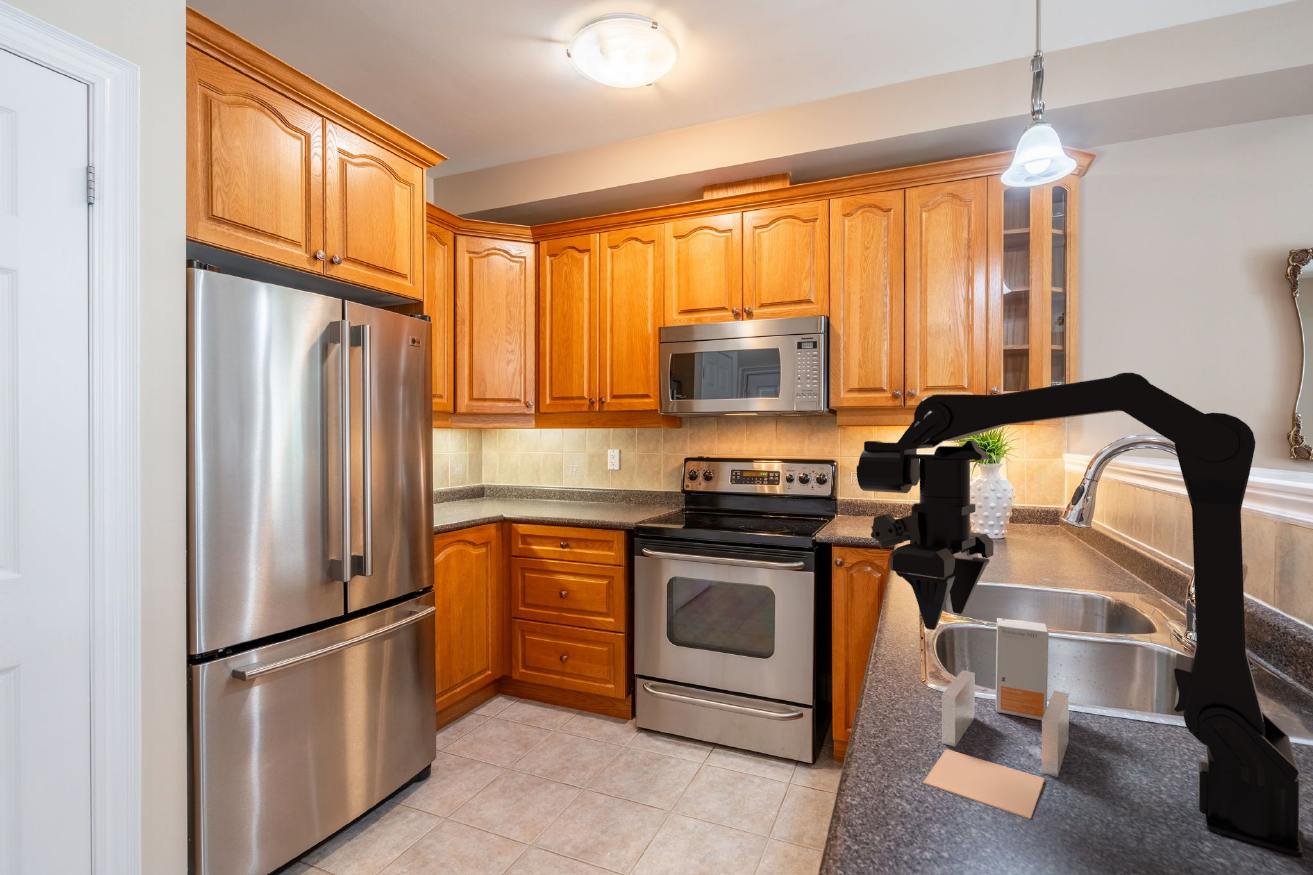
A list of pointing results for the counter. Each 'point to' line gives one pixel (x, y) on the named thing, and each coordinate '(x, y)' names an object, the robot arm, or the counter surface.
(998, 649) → the skincare box
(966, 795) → the tile
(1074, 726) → the counter surface
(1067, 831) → the counter surface
